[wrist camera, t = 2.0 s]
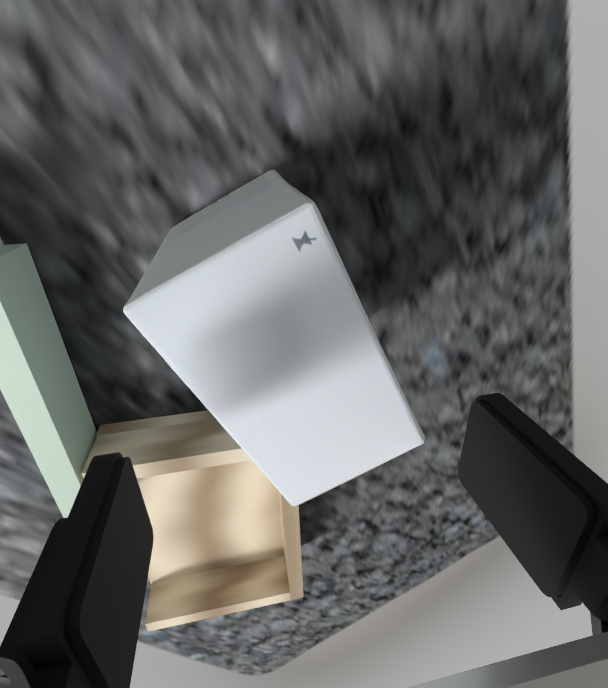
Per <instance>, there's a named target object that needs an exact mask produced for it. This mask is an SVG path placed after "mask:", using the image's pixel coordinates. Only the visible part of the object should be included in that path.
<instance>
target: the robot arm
mask: <svg viewBox="0 0 608 688" xmlns="http://www.w3.org/2000/svg"><path fill="white" fill-rule="evenodd" d="M458 476H459V479H460V482H461V483H462V485H463V486H464V487H465V489H466V490H467V491H468V493H469V494H470V495H471V497H472V498H473V500H474V501H475V502H476V504H477V505H478V506H479V508H480V509H481V510H482V512H483V513H484V514H485V516H486V517H487V518H488V520H489V521H490V522H491V524H492V525H493V527H494V528H495V529H496V531H497V532H498V533H499V535H500V536H501V537H502V539H503V540H504V541H505V543H506V544H507V545H508V547H509V548H510V549H511V551H512V552H513V553H514V555H515V556H516V557H517V559H518V560H519V562H520V563H521V564H522V566H523V567H524V568H525V570H526V571H527V572H528V574H529V575H530V577H531V578H532V579H533V581H534V582H535V583H536V585H537V586H538V587H539V588H540V590H541V591H542V592H543V593H544V594H545V595H546V596H548V597H552V599H553V600H554V602H555V603H556V604H557V606H558V607H559V608H560V610H563V609H567V608H571V607H574V606H578V605H581V603H582V602H583V603H584V605H585V606H586V607H587V608H588V610H589V611H590V614H591V624H592V632H593V636H590V637H586V638H583V639H579V640H575V641H572V642H568V643H565V644H561V645H558V646H554V647H550V648H547V649H543V650H540V651H536V652H532V653H529V654H525V655H522V656H518V657H514V658H511V659H508V660H504V661H500V662H497V663H493V664H489V665H486V666H482V667H479V668H475V669H472V670H468V671H465V672H462V673H458V674H454V675H451V676H447V677H444V678H440V679H437V680H433V681H430V682H426V683H423V684H419V685H416V686H412V687H409V688H608V484H607V483H606V482H605V481H604V480H602V479H601V478H600V477H599V476H598V475H597V474H595V473H594V472H593V471H592V470H591V469H590V468H588V467H587V466H586V465H585V464H584V463H582V462H581V461H580V460H579V459H577V457H575V456H574V455H573V454H572V453H571V452H570V451H568V450H567V449H566V448H565V447H564V446H562V445H561V444H560V443H559V442H558V441H557V440H555V439H554V438H553V437H552V436H551V435H549V434H548V433H547V432H546V431H545V430H544V429H542V428H541V427H540V426H539V425H538V424H536V423H535V422H534V421H533V420H532V419H531V418H529V417H528V416H527V415H526V414H525V413H523V412H522V411H521V410H520V409H519V408H518V407H516V406H515V405H514V404H513V403H512V402H510V401H509V400H508V399H507V398H506V397H505V396H503V395H502V394H500V393H494V394H488V395H481V396H478V397H477V398H476V401H475V402H473V403H472V405H471V409H470V414H469V418H468V423H467V428H466V433H465V438H464V443H463V448H462V453H461V458H460V463H459V468H458ZM153 539H154V537H153V528H152V525H151V522H150V519H149V515H148V512H147V509H146V506H145V503H144V500H143V497H142V493H141V490H140V487H139V484H138V481H137V478H136V474H135V471H134V468H133V465H132V462H131V459H130V458H129V457H123V456H122V454H121V453H120V452H116V453H110V454H104V455H97V456H94V457H93V458H92V460H91V462H90V465H89V467H88V469H87V472H86V474H85V477H84V479H83V482H82V484H81V486H80V489H79V491H78V494H77V496H76V499H75V501H74V503H73V506H72V508H71V511H70V513H69V516H68V517H67V518H62V519H59V520H58V521H57V522H56V523H55V525H54V527H53V529H52V530H51V533H50V535H49V537H48V540H47V542H46V544H45V546H44V549H43V551H42V553H41V555H40V558H39V560H38V562H37V565H36V567H35V569H34V571H33V574H32V576H31V578H30V580H29V583H28V585H27V587H26V589H25V592H24V594H23V596H22V599H21V601H20V603H19V605H18V608H17V610H16V612H15V614H14V617H13V619H12V621H11V624H10V626H9V628H8V630H7V633H6V635H5V637H4V640H3V642H2V644H1V646H0V688H129V687H130V682H131V676H132V669H133V663H134V657H135V651H136V644H137V639H138V633H139V627H140V621H141V615H142V609H143V603H144V597H145V591H146V584H147V578H148V572H149V566H150V560H151V554H152V548H153Z"/></svg>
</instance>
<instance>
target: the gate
mask: <svg viewBox="0 0 608 688" xmlns="http://www.w3.org/2000/svg"><path fill="white" fill-rule="evenodd" d="M0 389H1V391H2V393H3V395H4V397H5V399H6V401H7V404H8V406H9V408H10V410H11V412H12V414H13V416H14V418H15V420H16V422H17V424H18V426H19V428H20V430H21V432H22V434H23V436H24V438H25V440H26V442H27V444H28V446H29V448H30V450H31V452H32V454H33V456H34V458H35V460H36V463H37V465H38V467H39V469H40V471H41V473H42V475H43V477H44V479H45V481H46V483H47V485H48V487H49V489H50V491H51V493H52V495H53V497H54V499H55V501H56V503H57V505H58V507H59V509H60V511H61V513H62V515H63V517H64V518H67V517H68V516H69V513H70V511H71V508H72V506H73V503H74V501H75V499H76V496H77V494H78V491H79V489H80V486H81V484H82V482H83V479H84V478H83V476H82V471H83V469H84V466H85V464H86V462H87V459H88V457H89V455H90V452H91V450H92V447H93V445H94V443H95V440H96V434H97V431H96V429H95V426H94V423H93V421H92V418H91V415H90V413H89V410H88V407H87V404H86V402H85V399H84V396H83V394H82V391H81V388H80V386H79V383H78V380H77V377H76V375H75V372H74V369H73V367H72V364H71V361H70V359H69V356H68V353H67V351H66V348H65V345H64V342H63V340H62V337H61V334H60V332H59V329H58V326H57V324H56V321H55V318H54V315H53V313H52V310H51V307H50V305H49V302H48V299H47V297H46V294H45V291H44V288H43V286H42V283H41V280H40V278H39V275H38V272H37V270H36V267H35V264H34V261H33V259H32V256H31V253H30V251H29V248H28V245H27V243H26V244H11V245H3V242H2V240H1V237H0Z"/></svg>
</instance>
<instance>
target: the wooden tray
mask: <svg viewBox="0 0 608 688" xmlns="http://www.w3.org/2000/svg"><path fill="white" fill-rule="evenodd" d="M116 452H120V453H121V454H122V456H123V457H129V458H130V459H131V462H132V465H133V468H134V471H135V474H136V478H137V481H138V484H139V487H140V490H141V493H142V497H143V500H144V503H145V506H146V509H147V512H148V515H149V519H150V522H151V525H152V528H153V537H154V539H153V548H152V554H151V560H150V566H149V572H148V577H149V580H150V582H151V591H150V598H149V604H148V610H147V617H146V623H145V625H146V627H147V629H148V631H153V630H157V629H162V628H166V627H171V626H175V625H180V624H184V623H189V622H193V621H198V620H203V619H207V618H212V617H216V616H221V615H225V614H230V613H234V612H239V611H243V610H248V609H252V608H257V607H261V606H266V605H270V604H275V603H279V602H284V601H289V600H293V599H298V598H302V597H303V582H302V562H301V543H300V524H299V505H297V506H291V504H290V503H289V502H288V501H287V500H286V499H285V498H284V496H283V495H282V494H281V493H280V492H279V491H278V489H277V488H276V487H275V486H274V485H273V484H272V482H271V481H270V480H269V479H268V478H267V477H266V476H265V474H264V473H263V472H262V471H261V470H260V469H259V468H258V467H257V465H256V464H255V463H254V462H253V461H252V460H251V459H250V457H249V456H248V455H247V454H246V453H245V452H244V451H243V449H242V448H241V447H240V446H239V445H238V444H237V443H236V441H235V440H234V439H233V438H232V437H231V436H230V434H229V433H228V432H227V431H226V430H225V429H224V428H223V426H222V425H221V424H220V423H219V422H218V421H217V419H216V418H215V417H214V416H213V415H212V414H211V412H210V411H209V410H206V411H198V412H191V413H184V414H177V415H169V416H162V417H155V418H148V419H141V420H133V421H126V422H119V423H112V424H104V425H100V427H99V429H98V432H97V434H96V440H95V443H94V445H93V447H92V450H91V452H90V455H89V457H88V459H87V462H86V464H85V466H84V469H83V471H82V476H83V478H84V477H85V474H86V472H87V469H88V467H89V465H90V462H91V460H92V458H93V457H94V456H97V455H104V454H110V453H116Z"/></svg>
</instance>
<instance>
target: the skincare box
mask: <svg viewBox="0 0 608 688" xmlns="http://www.w3.org/2000/svg"><path fill="white" fill-rule="evenodd" d="M123 312H124V314H125V315H126V316H127V317H128V318H129V320H130V321H131V322H132V323H133V324H134V325H135V327H136V328H137V329H138V330H139V331H140V332H141V333H142V335H143V336H144V337H145V338H146V339H147V340H148V341H149V343H150V344H151V345H152V346H153V347H154V348H155V349H156V350H157V352H158V353H159V354H160V355H161V356H162V357H163V358H164V360H165V361H166V362H167V363H168V364H169V366H170V367H171V368H172V369H173V370H174V371H175V372H176V374H177V375H178V376H179V377H180V378H181V379H182V381H183V382H184V383H185V384H186V385H187V386H188V387H189V388H190V389H191V391H192V392H193V393H194V394H195V395H196V396H197V397H198V399H199V400H200V401H201V402H202V403H203V404H204V406H205V407H206V408H207V409H208V410H209V411H210V412H211V414H212V415H213V416H214V417H215V418H216V419H217V421H218V422H219V423H220V424H221V425H222V426H223V428H224V429H225V430H226V431H227V432H228V433H229V434H230V436H231V437H232V438H233V439H234V440H235V441H236V443H237V444H238V445H239V446H240V447H241V448H242V449H243V451H244V452H245V453H246V454H247V455H248V456H249V457H250V459H251V460H252V461H253V462H254V463H255V464H256V465H257V467H258V468H259V469H260V470H261V471H262V472H263V473H264V474H265V476H266V477H267V478H268V479H269V480H270V481H271V482H272V484H273V485H274V486H275V487H276V488H277V489H278V491H279V492H280V493H281V494H282V495H283V496H284V498H285V499H286V500H287V501H288V502H289V503H290V504H291V506H297V505H299V504H302V503H304V502H306V501H308V500H310V499H312V498H314V497H316V496H318V495H320V494H322V493H324V492H326V491H328V490H330V489H332V488H334V487H336V486H338V485H340V484H342V483H345V482H347V481H349V480H351V479H353V478H355V477H357V476H359V475H361V474H363V473H365V472H367V471H369V470H371V469H373V468H375V467H377V466H379V465H381V464H383V463H385V462H387V461H389V460H391V459H393V458H395V457H397V456H399V455H401V454H403V453H405V452H407V451H409V450H411V449H413V448H415V447H417V446H419V445H421V444H423V443H424V439H425V436H424V434H423V432H422V430H421V428H420V427H419V425H418V423H417V421H416V419H415V417H414V415H413V413H412V410H411V408H410V406H409V404H408V402H407V400H406V398H405V396H404V394H403V392H402V390H401V388H400V385H399V383H398V381H397V379H396V377H395V375H394V373H393V371H392V368H391V366H390V364H389V362H388V360H387V358H386V356H385V354H384V352H383V349H382V347H381V345H380V343H379V341H378V339H377V336H376V334H375V332H374V330H373V328H372V326H371V323H370V321H369V319H368V317H367V315H366V313H365V311H364V308H363V306H362V304H361V302H360V300H359V298H358V295H357V293H356V291H355V289H354V287H353V284H352V282H351V280H350V278H349V276H348V273H347V271H346V269H345V267H344V264H343V262H342V260H341V258H340V256H339V253H338V251H337V249H336V247H335V245H334V242H333V240H332V238H331V236H330V234H329V232H328V229H327V227H326V225H325V223H324V221H323V219H322V216H321V214H320V212H319V210H318V208H317V206H316V204H315V202H313V201H312V200H311V199H310V198H308V197H307V196H306V195H304V194H302V193H301V192H300V191H298V190H297V189H295V188H294V187H292V186H291V185H290V184H289V183H287V182H286V181H285V180H284V179H283V178H282V177H281V176H280V175H279V174H278V173H277V172H276V171H275V170H270V171H268V172H266V173H264V174H262V175H261V176H259V177H257V178H255V179H254V180H252V181H250V182H248V183H247V184H245V185H243V186H242V187H240V188H238V189H236V190H235V191H233V192H231V193H229V194H228V195H226V196H224V197H223V198H221V199H219V200H217V201H216V202H214V203H212V204H211V205H209V206H207V207H205V208H204V209H202V210H200V211H199V212H197V213H195V214H193V215H192V216H190V217H189V218H187V219H185V220H183V221H182V222H180V223H178V224H177V225H175V226H174V227H172V228H171V229H170V231H169V233H168V234H167V236H166V238H165V239H164V241H163V243H162V245H161V246H160V248H159V250H158V251H157V253H156V255H155V257H154V258H153V260H152V262H151V263H150V265H149V267H148V268H147V270H146V272H145V273H144V275H143V276H142V278H141V280H140V282H139V283H138V285H137V287H136V289H135V290H134V292H133V294H132V295H131V297H130V299H129V300H128V302H127V303H126V305H125V306H124V308H123Z"/></svg>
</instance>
